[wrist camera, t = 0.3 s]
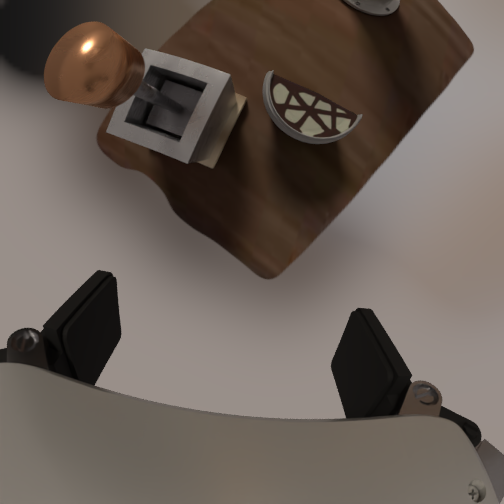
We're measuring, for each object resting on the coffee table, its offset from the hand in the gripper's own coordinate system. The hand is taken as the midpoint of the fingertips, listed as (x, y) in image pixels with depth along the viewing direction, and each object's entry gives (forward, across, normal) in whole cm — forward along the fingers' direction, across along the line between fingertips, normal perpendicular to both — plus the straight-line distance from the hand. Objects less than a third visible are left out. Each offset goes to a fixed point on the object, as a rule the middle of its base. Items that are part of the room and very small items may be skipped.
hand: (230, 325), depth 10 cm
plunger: (+22, +9, -10) cm, 25 cm away
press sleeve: (+30, +10, -10) cm, 34 cm away
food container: (+33, -5, -11) cm, 35 cm away
